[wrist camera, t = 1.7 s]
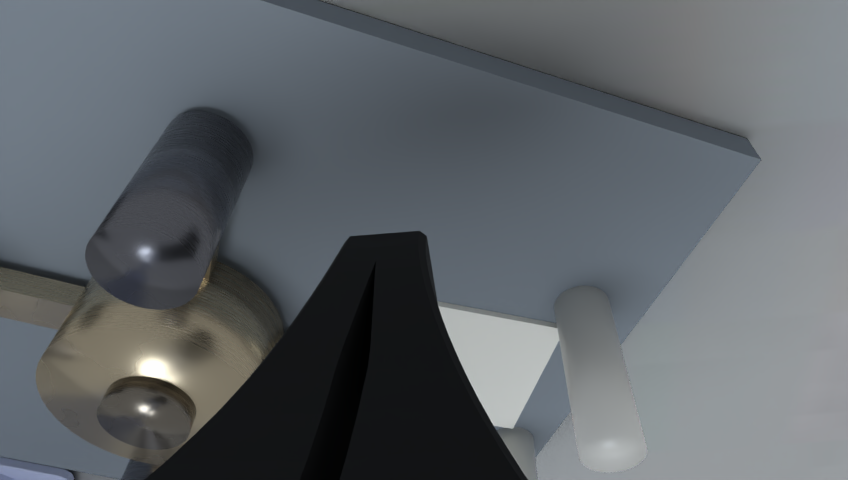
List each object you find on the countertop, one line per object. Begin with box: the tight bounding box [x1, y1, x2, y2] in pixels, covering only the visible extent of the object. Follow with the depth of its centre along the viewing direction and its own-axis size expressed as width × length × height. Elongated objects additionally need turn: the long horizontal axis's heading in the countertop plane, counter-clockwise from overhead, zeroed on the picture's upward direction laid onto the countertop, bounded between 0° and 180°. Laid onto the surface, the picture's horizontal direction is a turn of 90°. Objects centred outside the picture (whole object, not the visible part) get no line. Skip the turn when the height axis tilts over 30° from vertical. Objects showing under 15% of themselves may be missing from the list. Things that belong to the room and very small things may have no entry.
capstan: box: [0, 111, 284, 480], centre depth 19 cm, size 16×16×4 cm
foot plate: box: [0, 0, 761, 480], centre depth 21 cm, size 21×24×1 cm
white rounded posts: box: [437, 286, 648, 480], centre depth 20 cm, size 9×6×5 cm
